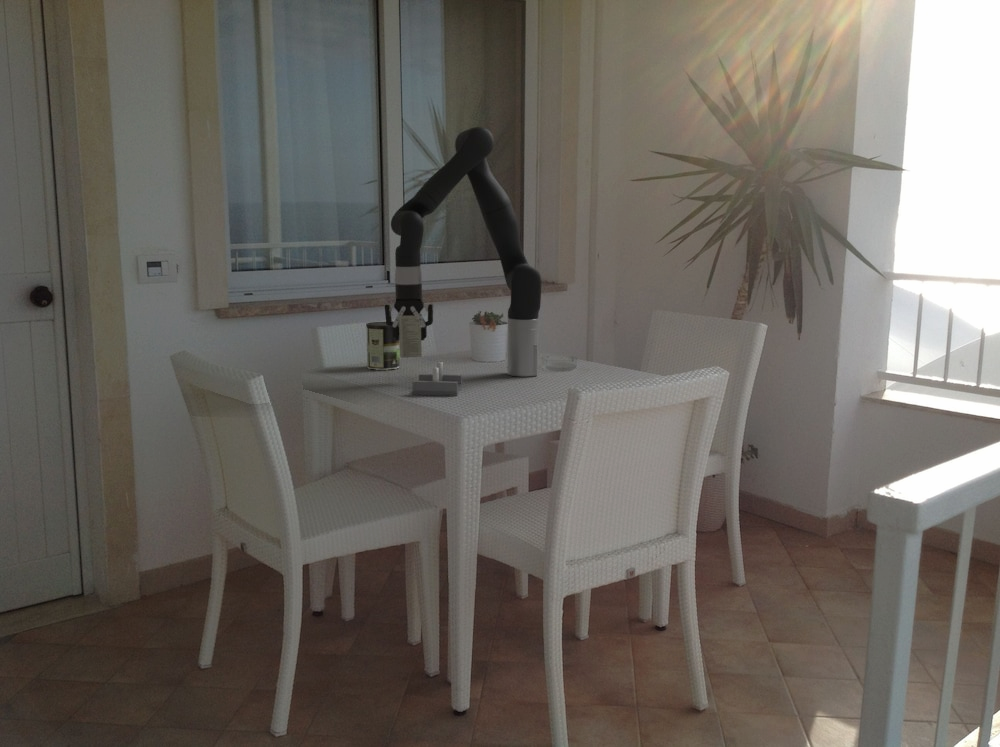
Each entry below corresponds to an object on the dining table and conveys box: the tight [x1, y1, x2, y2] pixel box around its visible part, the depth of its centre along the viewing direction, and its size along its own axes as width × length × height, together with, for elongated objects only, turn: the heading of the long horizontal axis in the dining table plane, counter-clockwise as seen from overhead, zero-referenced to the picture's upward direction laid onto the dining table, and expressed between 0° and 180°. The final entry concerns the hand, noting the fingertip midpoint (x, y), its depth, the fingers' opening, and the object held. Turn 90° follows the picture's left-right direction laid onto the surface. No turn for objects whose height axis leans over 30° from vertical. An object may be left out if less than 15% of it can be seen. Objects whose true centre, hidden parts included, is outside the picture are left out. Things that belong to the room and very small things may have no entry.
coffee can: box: [365, 321, 400, 371], centre depth 295 cm, size 10×10×14 cm
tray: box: [412, 361, 463, 397], centre depth 260 cm, size 12×12×7 cm
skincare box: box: [399, 314, 423, 359], centre depth 270 cm, size 6×4×12 cm
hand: (410, 339), depth 271 cm, fingers closed on skincare box, 7 cm apart
